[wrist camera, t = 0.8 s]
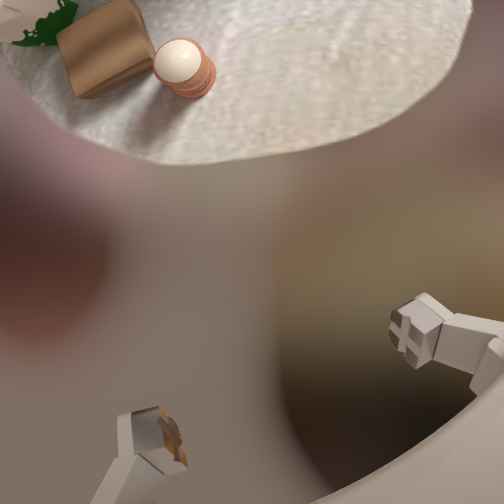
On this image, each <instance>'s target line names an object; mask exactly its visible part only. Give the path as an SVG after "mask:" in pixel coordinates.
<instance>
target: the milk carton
mask: <svg viewBox="0 0 504 504" xmlns="http://www.w3.org/2000/svg"><path fill="white" fill-rule="evenodd" d="M77 8H78V5H77V4H75V3H74V2H72V1H70V0H0V42H3V43H8V44H13V45H18V46H23V47H30V46H45V45H58V41H57V38H56V34H58V33H59V32H61V31H62V30H64V29H65V28H67V27H68V26H70V25H71V24H72V21H73V19H74V16H75V13H76V10H77Z"/></svg>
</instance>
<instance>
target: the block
mask: <svg viewBox="0 0 504 504" xmlns="http://www.w3.org/2000/svg"><path fill="white" fill-rule="evenodd" d="M56 38H57V41H58V45H59V48H60V52H61V55H62V58H63V61H64V64H65V68H66V71H67V74H68V77H69V80H70V83H71V86H72V89H73V92H74V94H75V97H76V98H83V99H96V98H97V97H99V96H101V95H102V94H104V93H106V92H108V91H110V90H111V89H113V88H115V87H117V86H119V85H121V84H122V83H124V82H126V81H128V80H130V79H132V78H134V77H136V76H138V75H140V74H142V73H144V72H146V71H148V70H150V69H153V59H154V56H155V54H156V52H155V50H154V47H153V44H152V42H151V39H150V37H149V34H148V31H147V29H146V26H145V24H144V21H143V18H142V16H141V13H140V11H139V8H138V6H137V5H136V4H135V3H134V2H133V1H132V0H112V1H110V2H108V3H106V4H104V5H103V6H101V7H99V8H97V9H96V10H94V11H92V12H90V13H89V14H87V15H85V16H84V17H82V18H81V19H79V20H77V21H76V22H74V23H73V24H71V25H70V26H68V27H67V28H65V29H64V30H62V31H61V32H59V33H58V34H56Z"/></svg>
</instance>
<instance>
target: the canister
mask: <svg viewBox="0 0 504 504" xmlns="http://www.w3.org/2000/svg"><path fill="white" fill-rule="evenodd" d="M153 71H154V74H155V76H156V77H157V78H158V80H159V81H161V82H162V83H164V84H166V85H168V86H170V88H171V89H172V90H173V92H175V93H176V94H178V95H180V96H182V97H185V98H196V97H200V96H202V95H204V94H205V93H207V92H208V91H209V90H210V89H211V88H212V86H213V85H214V82H215V79H216V70H215V67H214V64H213V63H212V61H211V60H210V59H209V58H208V57H206V56H205V53H204V51H203V49H202V48H201V46H200V45H199V44H197V43H196V42H195V41H193V40H190V39H186V38H178V39H173V40H170V41H168V42H166V43H165V44H163V45H162V46H161V47H160V48H159V49H158V51H157V52H156V54H155V56H154V59H153Z"/></svg>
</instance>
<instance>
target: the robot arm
mask: <svg viewBox="0 0 504 504" xmlns="http://www.w3.org/2000/svg"><path fill="white" fill-rule="evenodd" d="M390 320H391V321H393V322H392V324H391V325H390V327H389V334H388V335H389V338H390V341H391V343H392V345H393V346H394V347H395V348H396V349H397V351H401V352H405V359H406V360H407V361H408V362H409V363H410V364H411V365H412V366H413V367H414V368H415V369H417V368H419V367H420V366H422V365H423V364H425V363H427V362H428V361H430V360H431V359H433V360H435V361H438V362H441V363H443V364H446V365H449V366H451V367H454V368H457V369H460V370H463V371H465V372H468V373H471V374H474V377H473V379H472V381H471V383H470V388H471V390H472V391H473V392H474V393H475V394H476V395H477V396H478V397H477V398H476V399H475V400H474V401H472V402H471V403H470V404H469V405H468V406H467V407H466V408H464V409H463V410H462V411H461V412H460V413H458V414H457V415H456V416H455V417H454V418H452V419H451V420H450V421H449V422H447V423H446V424H445V425H444V426H442V427H441V428H440V429H438V430H437V431H436V432H434V433H433V434H432V435H430V436H429V437H428V438H426V439H425V440H423V441H422V442H421V443H419V444H418V445H416V446H415V447H413V448H412V449H410V450H409V451H408V452H406V453H404V454H403V455H402V456H400V457H398V458H397V459H395V460H393V461H392V462H390V463H388V464H387V465H385V466H383V467H382V468H380V469H378V470H377V471H375V472H373V473H371V474H370V475H368V476H366V477H364V478H362V479H360V480H358V481H357V482H355V483H353V484H351V485H349V486H347V487H345V488H343V489H341V490H339V491H337V492H335V493H333V494H331V495H328V496H326V497H324V498H322V499H319V500H317V501H315V502H312V503H310V504H504V322H499V321H494V320H489V319H484V318H479V317H474V316H469V315H463V314H459V313H457V314H455V315H454V314H453V313H451V312H450V311H449V310H448V309H446V308H445V307H444V306H443V305H441V304H440V303H439V302H437V301H436V300H435V299H434V298H432V297H431V296H429V295H428V294H427V293H422V294H420V295H419V296H417V297H415V298H414V299H412V300H409V301H408V302H406V303H404V304H402V305H401V306H399V307H397V308H395V309H394V310H392V312H391V314H390ZM117 434H118V435H117V436H118V452H119V458H116V459H114V461H113V463H112V465H111V467H110V469H109V470H108V472H107V474H106V476H105V478H104V480H103V482H102V483H101V485H100V487H99V489H98V491H97V493H96V494H95V496H94V498H93V500H92V502H91V504H157V503H158V500H159V497H160V494H161V491H162V488H163V485H164V481H165V479H166V476H167V475H171V474H175V473H179V472H182V471H186V470H189V468H188V464H187V459H186V455H185V453H184V452H183V450H182V449H181V448H180V446H181V444H182V437H181V434H180V431H179V428H178V426H177V424H176V423H175V421H174V420H173V418H172V417H169V416H167V412H166V409H165V408H164V407H163V406H162V405H160V406H156V407H151V408H147V409H143V410H139V411H135V412H131V413H126V414H122V415H119V416H118V419H117Z"/></svg>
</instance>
